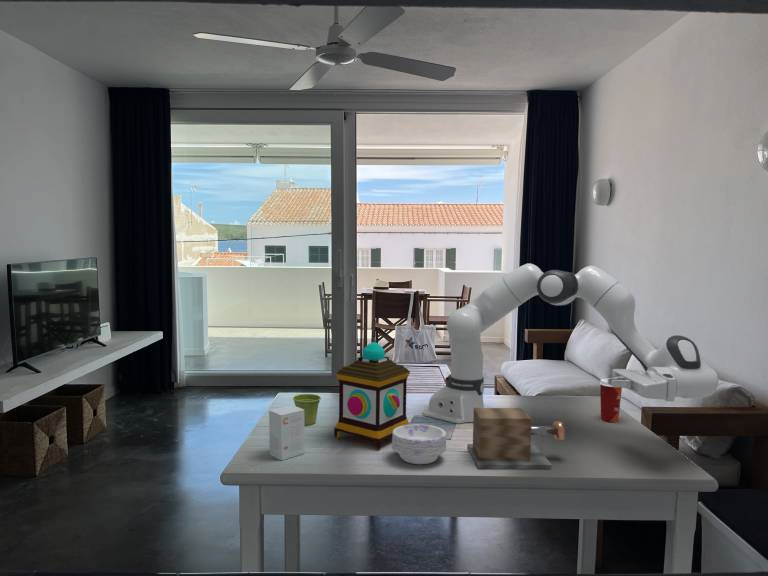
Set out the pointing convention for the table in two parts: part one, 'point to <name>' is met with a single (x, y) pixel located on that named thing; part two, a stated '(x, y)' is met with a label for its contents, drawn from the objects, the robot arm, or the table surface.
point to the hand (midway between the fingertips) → (609, 382)
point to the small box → (286, 432)
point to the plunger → (550, 430)
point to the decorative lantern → (372, 396)
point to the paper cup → (609, 401)
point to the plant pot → (308, 406)
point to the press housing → (504, 440)
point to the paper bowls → (419, 443)
